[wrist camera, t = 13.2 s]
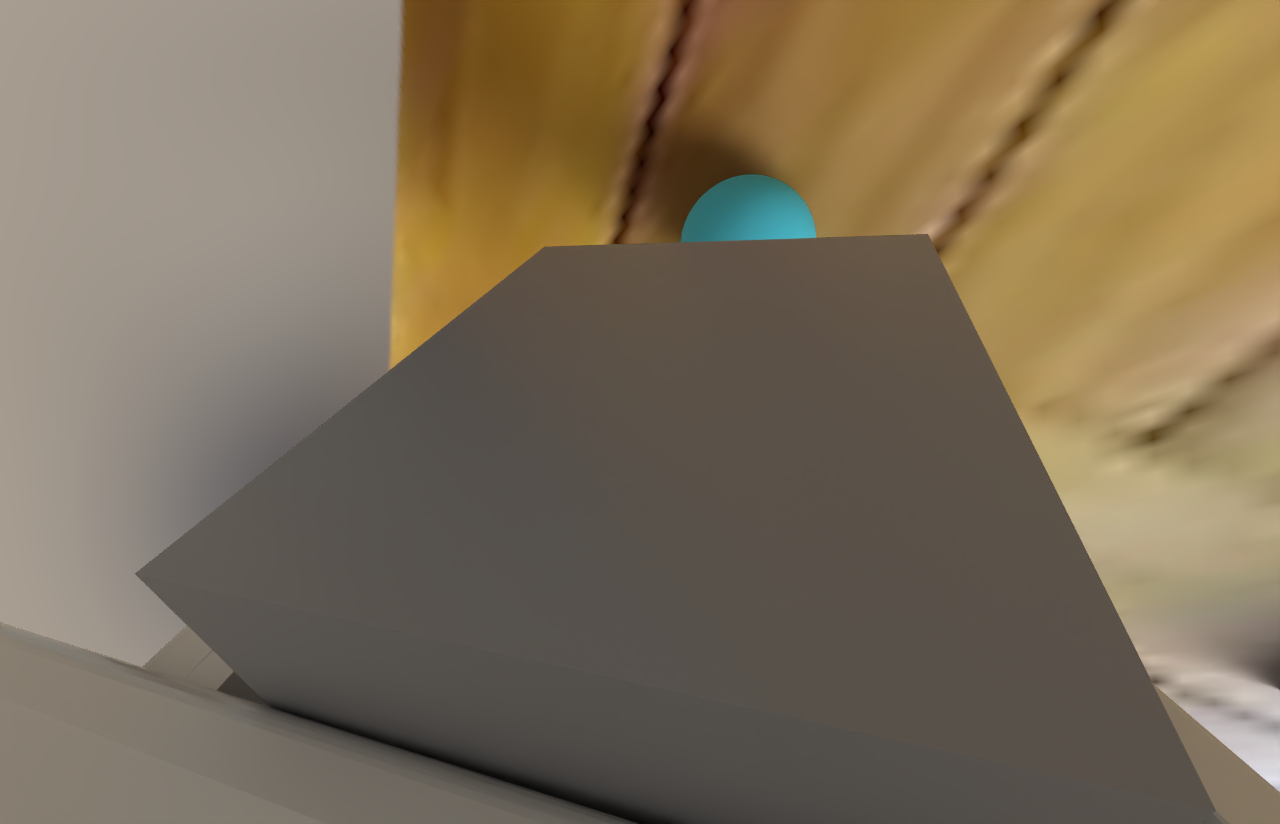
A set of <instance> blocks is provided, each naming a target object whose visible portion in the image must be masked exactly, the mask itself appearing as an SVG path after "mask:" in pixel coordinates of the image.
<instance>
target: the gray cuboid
mask: <svg viewBox="0 0 1280 824" xmlns="http://www.w3.org/2000/svg"><path fill="white" fill-rule="evenodd" d="M135 574H136V575H137V576H138V577H139V578H140V579H141V580H142V581H143V582H144V583H145V584H146V585H147V586H148V587H149V588H150V589H151V590H152V591H153V592H154V593H155V594H156V595H157V596H158V597H159V598H160V599H161V600H162V601H163V602H164V603H165V604H166V605H167V606H168V607H169V608H170V609H171V610H172V611H173V612H174V613H175V614H176V615H177V616H178V617H179V618H181V619H182V621H183V622H184V623H186V624H187V625H188V626H189V627H190V628H191V629H192V630H193V631H194V632H195V633H196V634H197V635H198V636H199V637H200V638H201V639H202V640H203V641H204V642H205V643H206V644H207V645H208V646H209V647H210V648H211V649H212V650H213V651H214V652H215V653H216V654H217V655H218V656H219V657H220V658H221V659H222V660H223V661H224V662H225V663H226V664H227V665H228V666H229V667H230V668H231V669H232V670H233V671H234V672H235V673H236V674H237V675H238V676H239V677H240V678H241V679H242V680H243V681H244V682H245V683H246V684H247V685H248V686H250V687H251V688H252V689H253V690H254V691H255V692H256V693H257V694H258V695H259V696H260V697H261V698H262V699H263V700H264V701H265V702H266V703H267V704H268V705H269V706H270V707H271V708H274V709H277V710H280V711H283V712H286V713H290V714H293V715H296V716H299V717H302V718H305V719H309V720H312V721H315V722H318V723H321V724H324V725H328V726H331V727H334V728H337V729H340V730H344V731H347V732H350V733H353V734H356V735H359V736H363V737H366V738H369V739H372V740H375V741H378V742H382V743H385V744H388V745H391V746H394V747H397V748H401V749H404V750H407V751H410V752H413V753H416V754H420V755H423V756H426V757H429V758H432V759H436V760H439V761H442V762H445V763H448V764H451V765H455V766H458V767H461V768H464V769H467V770H470V771H474V772H477V773H480V774H483V775H486V776H489V777H493V778H496V779H499V780H502V781H505V782H508V783H512V784H515V785H518V786H521V787H524V788H528V789H531V790H534V791H537V792H540V793H543V794H547V795H550V796H553V797H556V798H559V799H562V800H566V801H569V802H572V803H575V804H578V805H581V806H585V807H588V808H591V809H594V810H597V811H600V812H604V813H607V814H610V815H613V816H616V817H620V818H623V819H626V820H629V821H632V822H635V823H639V824H1200V823H1201V822H1202V821H1204V820H1205V819H1206V818H1207V817H1209V816H1210V815H1211V814H1213V813H1214V812H1215V811H1216V809H1215V807H1214V805H1213V803H1212V801H1211V799H1210V797H1209V795H1208V793H1207V791H1206V789H1205V787H1204V785H1203V783H1202V781H1201V779H1200V777H1199V775H1198V773H1197V771H1196V769H1195V767H1194V765H1193V763H1192V761H1191V759H1190V757H1189V755H1188V753H1187V751H1186V749H1185V747H1184V745H1183V743H1182V741H1181V739H1180V737H1179V735H1178V733H1177V731H1176V729H1175V727H1174V725H1173V723H1172V721H1171V719H1170V717H1169V715H1168V713H1167V711H1166V709H1165V707H1164V705H1163V703H1162V701H1161V699H1160V697H1159V695H1158V693H1157V691H1156V689H1155V687H1154V685H1153V683H1152V681H1151V679H1150V677H1149V675H1148V673H1147V671H1146V669H1145V667H1144V665H1143V663H1142V661H1141V659H1140V657H1139V655H1138V653H1137V651H1136V649H1135V647H1134V645H1133V643H1132V641H1131V639H1130V637H1129V635H1128V633H1127V631H1126V629H1125V627H1124V625H1123V623H1122V621H1121V619H1120V617H1119V615H1118V613H1117V611H1116V609H1115V607H1114V605H1113V603H1112V601H1111V599H1110V597H1109V595H1108V593H1107V591H1106V589H1105V587H1104V585H1103V583H1102V581H1101V579H1100V577H1099V575H1098V573H1097V571H1096V569H1095V567H1094V565H1093V563H1092V561H1091V559H1090V557H1089V555H1088V553H1087V551H1086V549H1085V547H1084V545H1083V543H1082V541H1081V539H1080V537H1079V535H1078V533H1077V531H1076V529H1075V527H1074V525H1073V523H1072V521H1071V519H1070V517H1069V515H1068V513H1067V511H1066V509H1065V507H1064V505H1063V503H1062V501H1061V499H1060V497H1059V495H1058V493H1057V491H1056V489H1055V487H1054V485H1053V483H1052V481H1051V479H1050V477H1049V475H1048V473H1047V471H1046V469H1045V467H1044V465H1043V463H1042V461H1041V459H1040V457H1039V455H1038V453H1037V451H1036V449H1035V447H1034V445H1033V443H1032V441H1031V439H1030V437H1029V435H1028V433H1027V431H1026V429H1025V427H1024V425H1023V423H1022V421H1021V419H1020V417H1019V415H1018V413H1017V411H1016V409H1015V407H1014V405H1013V403H1012V401H1011V399H1010V397H1009V395H1008V393H1007V391H1006V389H1005V387H1004V385H1003V383H1002V381H1001V379H1000V377H999V375H998V373H997V371H996V369H995V367H994V365H993V363H992V361H991V359H990V357H989V355H988V353H987V351H986V349H985V347H984V345H983V343H982V341H981V339H980V337H979V335H978V333H977V331H976V329H975V327H974V325H973V323H972V321H971V319H970V317H969V315H968V313H967V311H966V309H965V307H964V305H963V303H962V301H961V299H960V297H959V295H958V293H957V291H956V289H955V287H954V285H953V283H952V281H951V279H950V277H949V275H948V273H947V271H946V269H945V267H944V265H943V263H942V261H941V259H940V257H939V255H938V253H937V251H936V249H935V247H934V245H933V243H932V241H931V239H930V237H929V235H928V234H917V235H887V236H857V237H826V238H796V239H766V240H735V241H705V242H675V243H645V244H614V245H584V246H554V247H544V248H542V249H541V250H540V251H539V252H537V253H536V254H535V255H534V256H532V257H531V258H530V259H529V260H527V261H526V262H525V263H524V264H522V265H521V266H520V267H519V268H517V269H516V270H515V271H514V272H512V273H511V274H510V275H509V276H507V277H506V278H505V279H504V280H502V281H501V282H500V283H499V284H497V285H496V286H495V287H494V288H492V289H491V290H490V291H489V292H487V293H486V294H485V295H484V296H482V297H481V298H480V299H479V300H477V301H476V302H475V303H474V304H472V305H471V306H470V307H468V308H467V309H466V310H465V311H463V312H462V313H461V314H460V315H458V316H457V317H456V318H455V319H453V320H452V321H451V322H450V323H448V324H447V325H446V326H445V327H443V328H442V329H441V330H440V331H438V332H437V333H436V334H435V335H433V336H432V337H431V338H430V339H428V340H427V341H426V342H425V343H423V344H422V345H421V346H420V347H418V348H417V349H416V350H415V351H413V352H412V353H411V354H410V355H408V356H407V357H406V358H405V359H403V360H402V361H401V362H400V363H398V364H397V365H396V366H395V367H393V368H392V369H391V370H390V371H388V372H387V373H386V374H385V375H383V376H382V377H381V378H380V379H378V380H377V381H376V382H375V383H373V384H372V385H371V386H370V387H368V388H367V389H366V390H365V391H363V392H362V393H361V394H359V395H358V396H357V397H356V398H355V399H353V400H352V401H351V402H350V403H348V404H347V405H346V406H345V407H343V408H342V409H341V410H339V411H338V412H337V413H336V414H334V415H333V416H332V417H331V418H329V419H328V420H327V421H326V422H324V423H323V424H322V425H321V426H319V427H318V428H317V429H316V430H314V431H313V432H312V433H311V434H309V435H308V436H307V437H306V438H305V439H303V440H302V441H301V442H299V443H298V444H297V445H296V446H295V447H293V448H292V449H291V450H289V451H288V452H287V453H286V454H284V455H283V456H282V457H281V458H279V459H278V460H277V461H276V462H274V463H273V464H272V465H271V466H269V467H268V468H267V469H266V470H264V471H263V472H262V473H261V474H259V475H258V476H257V477H255V478H254V479H253V480H252V481H250V482H249V483H248V484H247V485H245V486H244V487H243V488H242V489H240V490H239V491H238V492H237V493H235V494H234V495H233V496H232V497H230V498H229V499H228V500H227V501H226V502H224V503H223V504H222V505H221V506H219V507H218V508H217V509H215V510H214V511H213V512H212V513H210V514H209V515H208V516H207V517H205V518H204V519H203V520H202V521H200V522H199V523H198V524H197V525H196V526H194V527H193V528H192V529H191V530H189V531H188V532H187V533H185V534H184V535H183V536H182V537H180V538H179V539H178V540H177V541H175V542H174V543H173V544H172V545H170V546H169V547H168V548H167V549H165V550H164V551H163V552H162V553H160V554H159V555H158V556H157V557H155V558H154V559H153V560H152V561H150V562H149V563H148V564H146V565H145V566H144V567H143V568H141V569H140V570H139V571H138V572H136V573H135Z"/></svg>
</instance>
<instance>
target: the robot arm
mask: <svg viewBox="0 0 1280 824" xmlns="http://www.w3.org/2000/svg"><path fill="white" fill-rule="evenodd" d="M1153 685H1154V684H1153ZM1154 687H1155V689H1156V691H1157V693H1158V695H1159V697H1160V699H1161V701H1162V703H1163V705H1164V707H1165V709H1166V711H1167V713H1168V715H1169V717H1170V719H1171V721H1172V723H1173V725H1174V727H1175V729H1176V731H1177V733H1178V735H1179V737H1180V739H1181V741H1182V743H1183V745H1184V747H1185V749H1186V751H1187V753H1188V755H1189V757H1190V759H1191V761H1192V763H1193V765H1194V767H1195V769H1196V771H1197V773H1198V775H1199V777H1200V779H1201V781H1202V783H1203V785H1204V787H1205V789H1206V791H1207V793H1208V795H1209V797H1210V799H1211V801H1212V803H1213V805H1214V807H1215V809H1216V811H1215V812H1214V813H1213V814H1211V815H1210V816H1209V817H1207V818H1206V819H1205V820H1204V821H1202V822H1201V823H1200V824H1280V792H1279V791H1278V790H1276V789H1275V788H1274V787H1273V786H1272V785H1271V784H1269V783H1268V782H1267V781H1266V780H1265V779H1264V778H1262V777H1261V776H1260V775H1259V774H1258V773H1257V772H1255V771H1254V770H1253V769H1252V768H1251V767H1250V766H1248V765H1247V764H1246V763H1245V762H1244V761H1243V760H1241V759H1240V758H1239V757H1238V756H1237V755H1236V754H1234V753H1233V752H1232V751H1231V750H1230V749H1229V748H1227V747H1226V746H1225V745H1224V744H1223V743H1222V742H1220V741H1219V740H1218V739H1217V738H1216V737H1215V736H1213V735H1212V734H1211V733H1210V732H1209V731H1208V730H1206V729H1205V728H1204V727H1203V726H1202V725H1201V724H1199V723H1198V722H1197V721H1196V720H1195V719H1194V718H1192V717H1191V716H1190V715H1189V714H1188V713H1187V712H1185V711H1184V710H1183V709H1182V708H1181V707H1180V706H1178V705H1177V704H1176V703H1175V702H1174V701H1173V700H1171V699H1170V698H1169V697H1168V696H1167V695H1166V694H1164V693H1163V692H1162V691H1161V690H1160V689H1159V688H1158V687H1156V686H1155V685H1154ZM0 824H639V823H635V822H632V821H629V820H626V819H623V818H620V817H616V816H613V815H610V814H607V813H604V812H600V811H597V810H594V809H591V808H588V807H585V806H581V805H578V804H575V803H572V802H569V801H566V800H562V799H559V798H556V797H553V796H550V795H547V794H543V793H540V792H537V791H534V790H531V789H528V788H524V787H521V786H518V785H515V784H512V783H508V782H505V781H502V780H499V779H496V778H493V777H489V776H486V775H483V774H480V773H477V772H474V771H470V770H467V769H464V768H461V767H458V766H455V765H451V764H448V763H445V762H442V761H439V760H436V759H432V758H429V757H426V756H423V755H420V754H416V753H413V752H410V751H407V750H404V749H401V748H397V747H394V746H391V745H388V744H385V743H382V742H378V741H375V740H372V739H369V738H366V737H363V736H359V735H356V734H353V733H350V732H347V731H344V730H340V729H337V728H334V727H331V726H328V725H324V724H321V723H318V722H315V721H312V720H309V719H305V718H302V717H299V716H296V715H293V714H290V713H286V712H283V711H280V710H277V709H274V708H271V707H270V706H269V705H268V704H267V703H266V702H265V701H264V700H263V699H262V698H261V697H260V696H259V695H258V694H257V693H256V692H255V691H254V690H253V689H252V688H251V687H250V686H248V685H247V684H246V683H245V682H244V681H243V680H242V679H241V678H240V677H239V676H238V675H237V674H236V673H235V672H234V671H233V670H232V669H231V668H230V667H229V666H228V665H227V664H226V663H225V662H224V661H223V660H222V659H221V658H220V657H219V656H218V655H217V654H216V653H215V652H214V651H213V650H212V649H211V648H210V647H209V646H208V645H207V644H206V643H205V642H204V641H203V640H202V639H201V638H200V637H199V636H198V635H197V634H196V633H195V632H194V631H193V630H192V629H191V628H190V627H189V626H188V625H187V626H186V627H185V628H183V629H182V630H181V631H180V632H179V633H178V634H177V635H176V636H175V637H174V638H173V639H172V640H171V641H170V642H168V644H166V645H165V646H164V647H163V648H162V649H161V650H160V651H159V652H158V653H157V654H156V655H155V656H153V657H152V658H151V659H150V660H149V661H148V662H147V663H146V664H145V665H144V666H143V667H140V666H137V665H134V664H131V663H128V662H124V661H121V660H118V659H115V658H112V657H108V656H105V655H102V654H99V653H96V652H92V651H90V650H86V649H83V648H80V647H76V646H74V645H70V644H67V643H64V642H61V641H58V640H54V639H51V638H48V637H44V636H41V635H38V634H35V633H32V632H29V631H25V630H22V629H19V628H16V627H13V626H10V625H7V624H4V623H1V622H0Z"/></svg>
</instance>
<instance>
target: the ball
mask: <svg viewBox="0 0 1280 824" xmlns="http://www.w3.org/2000/svg"><path fill="white" fill-rule="evenodd" d="M796 238H816V230H815V225H814V221H813V218H812V215H811V212H810V210H809V208H808V207H807V205H806V203H805V202H804V200H803V199H802V198H801V197H800V195H799V194H798V193H797V192H796V191H795V190H794V189H792V188H791V187H790V186H788V185H787V184H785V183H784V182H782V181H780V180H778V179H775V178H772V177H769V176H764V175H757V174H748V175H740V176H736V177H732V178H729V179H726V180H724V181H722V182H720V183H718V184H716V185H715V186H713V187H712V188H711V189H709V190H708V191H707V192H706V193H705V194H703V195H702V196H701V197H700V198H699V200H698V201H697V202H696V203H695V205H694V206H693V208H692V209H691V211H690V213H689V214H688V217H687V219H686V221H685V224H684V227H683V230H682V235H681V242H705V241H735V240H766V239H796Z"/></svg>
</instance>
